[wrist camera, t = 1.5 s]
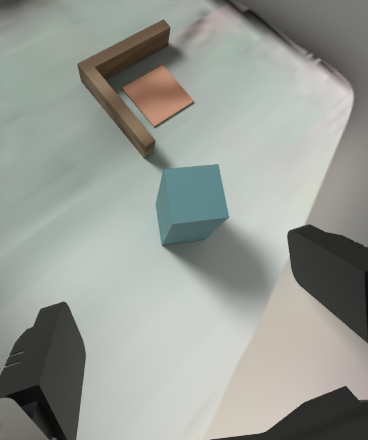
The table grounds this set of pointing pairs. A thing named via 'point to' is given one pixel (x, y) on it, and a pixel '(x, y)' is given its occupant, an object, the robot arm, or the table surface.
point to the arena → (135, 85)
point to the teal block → (190, 203)
